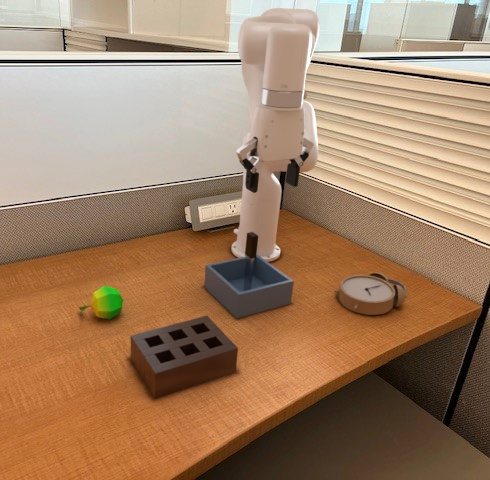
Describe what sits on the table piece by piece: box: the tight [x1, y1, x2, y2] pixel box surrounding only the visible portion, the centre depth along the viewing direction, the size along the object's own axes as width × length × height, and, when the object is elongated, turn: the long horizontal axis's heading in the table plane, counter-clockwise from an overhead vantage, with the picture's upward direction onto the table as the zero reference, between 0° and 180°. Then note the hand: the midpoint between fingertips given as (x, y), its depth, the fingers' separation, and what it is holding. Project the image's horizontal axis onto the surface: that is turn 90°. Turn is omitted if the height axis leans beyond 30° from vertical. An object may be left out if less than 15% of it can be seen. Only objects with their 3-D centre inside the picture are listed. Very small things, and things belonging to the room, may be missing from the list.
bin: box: [203, 254, 295, 319], centre depth 103 cm, size 14×14×6 cm
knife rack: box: [130, 315, 239, 399], centre depth 82 cm, size 11×15×5 cm
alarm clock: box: [333, 271, 408, 316], centre depth 104 cm, size 11×5×15 cm
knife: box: [243, 232, 258, 291], centre depth 101 cm, size 2×1×14 cm, turn 27°
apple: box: [78, 285, 124, 320], centre depth 94 cm, size 7×6×9 cm
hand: (271, 187), depth 95 cm, fingers open, 9 cm apart
